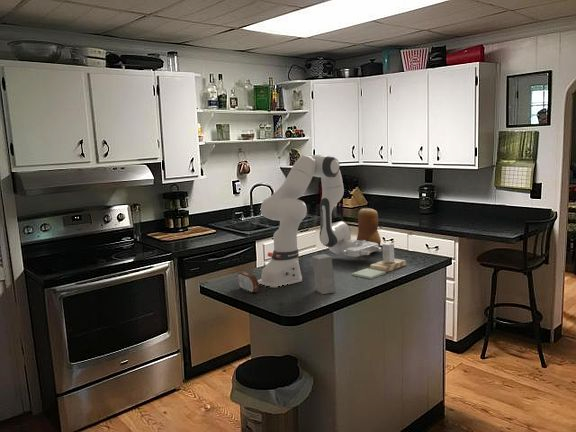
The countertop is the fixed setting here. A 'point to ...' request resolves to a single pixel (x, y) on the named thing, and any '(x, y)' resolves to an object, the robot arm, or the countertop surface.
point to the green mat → (368, 273)
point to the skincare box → (323, 273)
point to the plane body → (388, 265)
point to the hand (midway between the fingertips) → (374, 251)
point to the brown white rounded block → (248, 281)
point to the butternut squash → (368, 226)
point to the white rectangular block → (388, 253)
